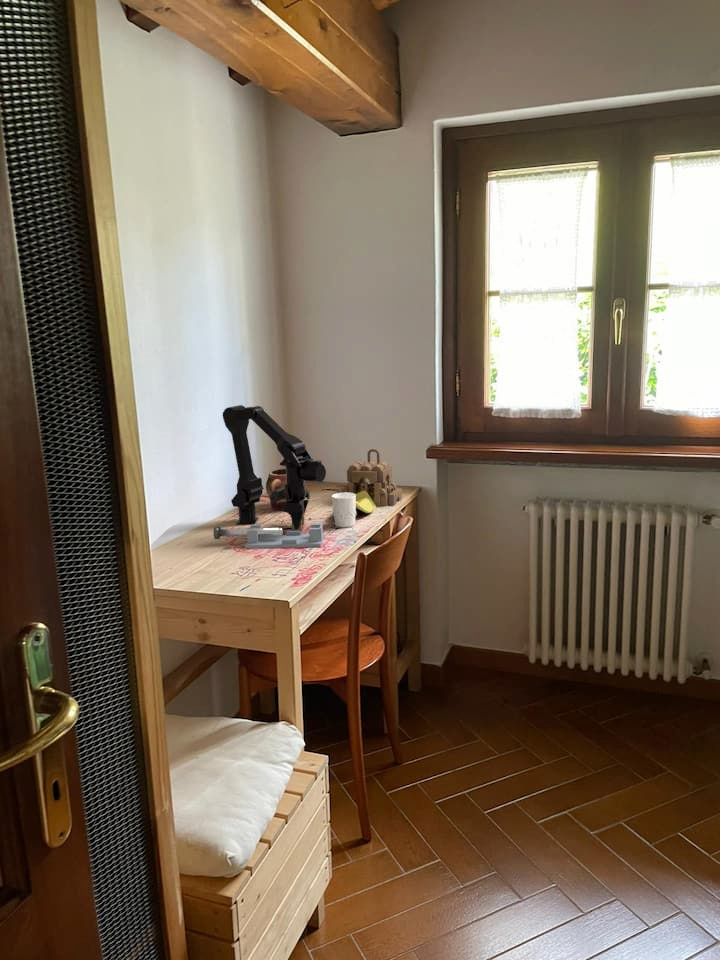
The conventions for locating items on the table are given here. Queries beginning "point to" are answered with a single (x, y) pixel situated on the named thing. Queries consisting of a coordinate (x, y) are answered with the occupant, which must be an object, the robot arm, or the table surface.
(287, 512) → the robot arm
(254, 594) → the table surface
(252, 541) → the rail
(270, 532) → the shaft
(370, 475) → the tan backpack
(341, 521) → the white cup
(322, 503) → the table surface
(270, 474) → the decorative planter
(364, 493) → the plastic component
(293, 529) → the frame
